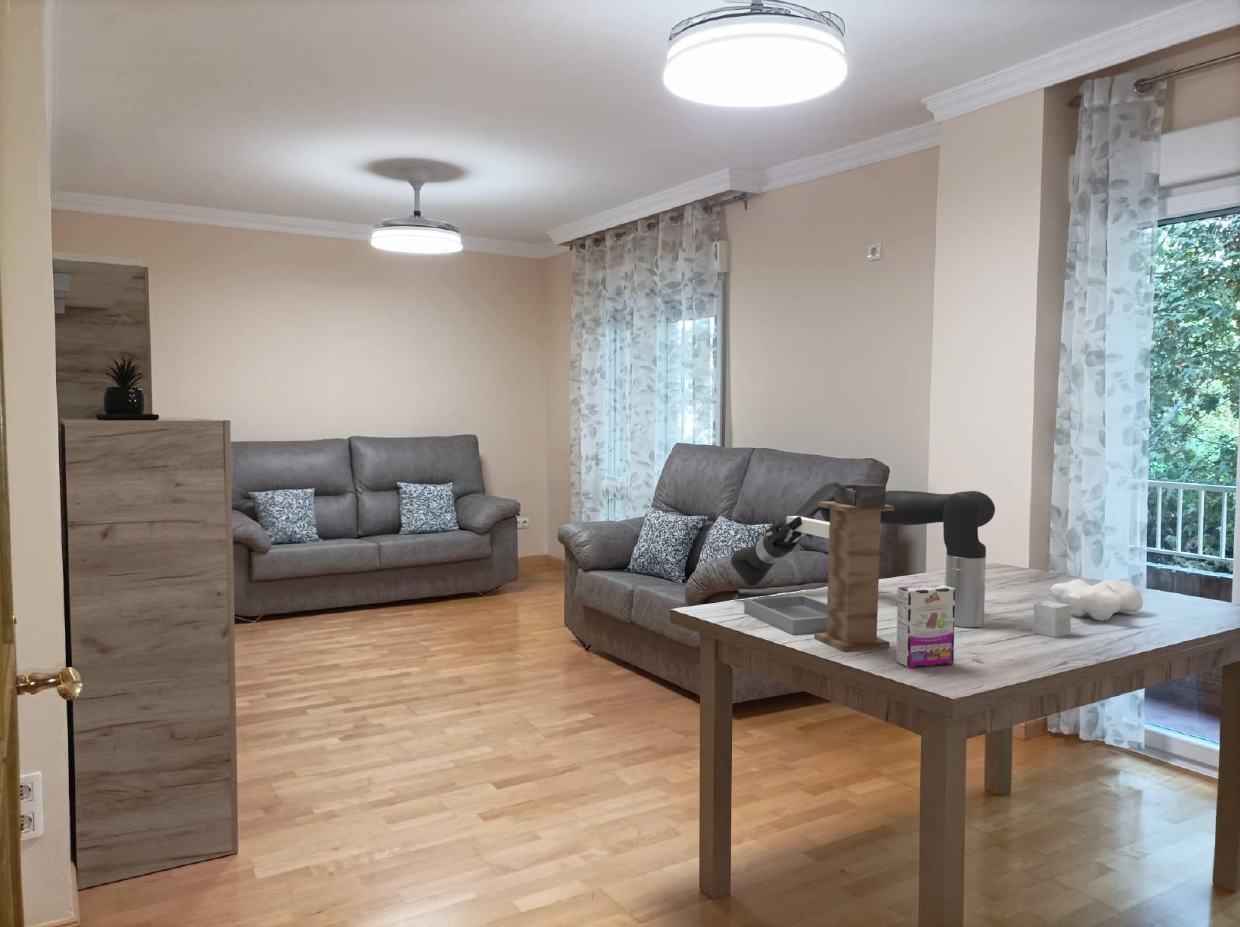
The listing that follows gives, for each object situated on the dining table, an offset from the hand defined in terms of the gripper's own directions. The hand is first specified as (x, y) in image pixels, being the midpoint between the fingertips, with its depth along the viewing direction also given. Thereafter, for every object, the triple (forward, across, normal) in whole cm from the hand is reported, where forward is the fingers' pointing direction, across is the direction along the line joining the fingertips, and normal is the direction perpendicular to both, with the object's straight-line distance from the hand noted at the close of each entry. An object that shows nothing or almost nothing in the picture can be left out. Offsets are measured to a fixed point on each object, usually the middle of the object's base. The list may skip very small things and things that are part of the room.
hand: (806, 519), depth 227 cm
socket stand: (+5, 0, +32) cm, 33 cm away
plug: (+1, 0, +4) cm, 4 cm away
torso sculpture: (+2, +77, +32) cm, 83 cm away
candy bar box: (+21, +5, +42) cm, 47 cm away
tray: (-15, 0, +21) cm, 26 cm away
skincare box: (+11, +52, +36) cm, 64 cm away
